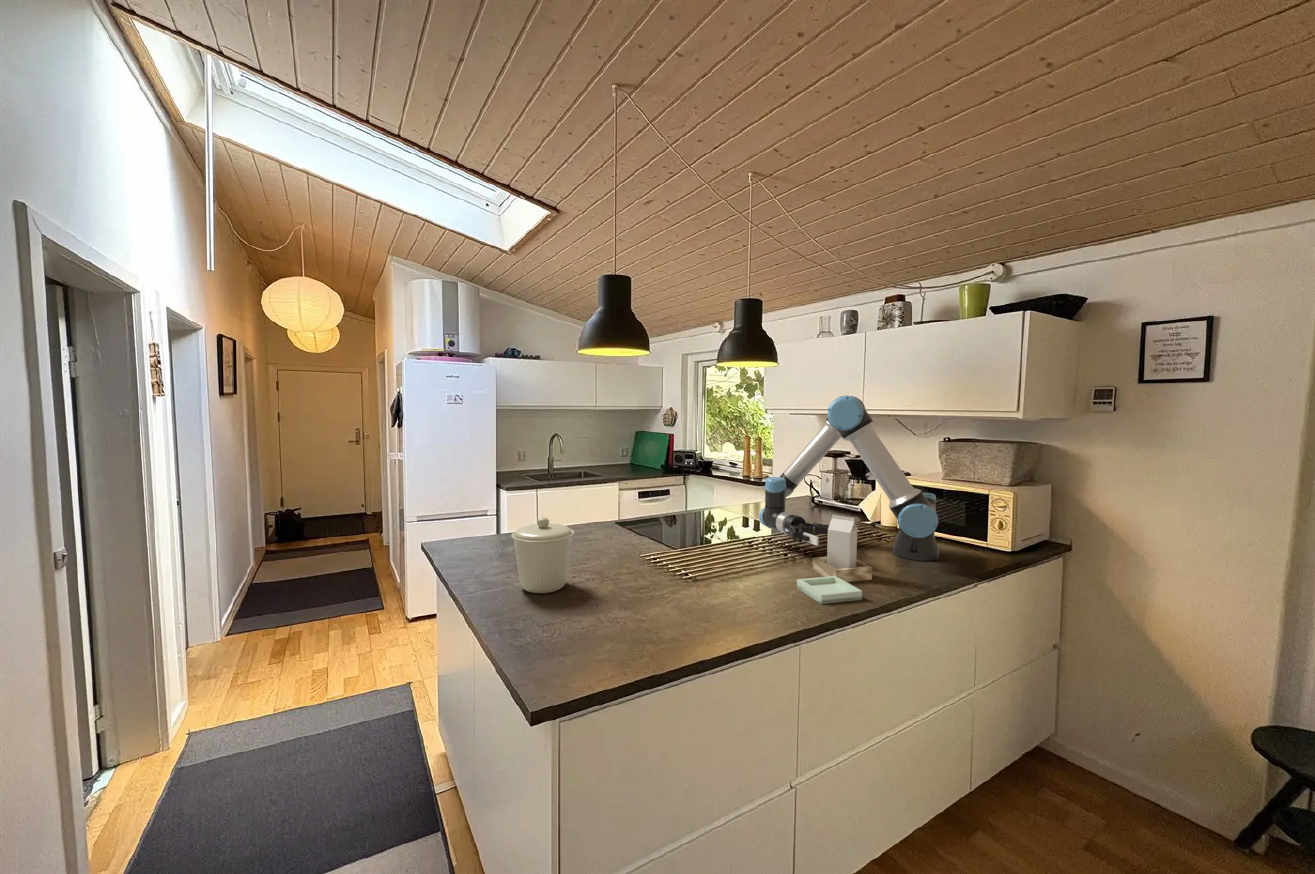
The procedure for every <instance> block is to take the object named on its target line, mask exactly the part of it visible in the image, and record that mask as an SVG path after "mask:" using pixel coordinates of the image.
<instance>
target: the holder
mask: <svg viewBox="0 0 1315 874" xmlns="http://www.w3.org/2000/svg"><path fill="white" fill-rule="evenodd" d="M811 565H812V568H811V570H812V571H813V572H815V573H817V574H819V575H821V577H829V576H836V577H838V578H840V579H842V580H844V581H845V582H847V583H851V582H861V581H862V582H863V581H870V580H872V579H873V566H871V565H869V564H867V563H865V562H862V561H861V560H859V559H856V567H855V568H844V569H836V568H834V567H832V566H830V565H828V564H827V556H822V557H821V556H820V557H819V556H817V557H812V564H811Z"/></svg>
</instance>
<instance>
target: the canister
mask: <svg viewBox="0 0 1315 874" xmlns="http://www.w3.org/2000/svg"><path fill="white" fill-rule="evenodd" d="M574 535H575V530H573V529H572V528H570V527H569V526H567V525H564V524H559V523H550V520H549V519H548V518H547V517H539V518H538V519H537V521H536V524H535V523H533V524H529V525H524V526H522V527H520V528H518V529H517V530H514V531H513V532H511V538H512V539H513V542H514V544H513V545H514V551H515V558H516V559H515V561H516V566H517V572H518V574H517V575H518V580H519V584H520V586H521V588H522V589H523V590H524V591H526V592H529V593H533V594H549V593H554V592H556V591H559V590H562V588H563V587H564V586H565V585H566V583H567V580H568V576H569V571H570V570H569V567H570V561H571V560H570V558H571V549H572V542H573V541H572V539H573V536H574Z"/></svg>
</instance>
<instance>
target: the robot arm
mask: <svg viewBox="0 0 1315 874" xmlns="http://www.w3.org/2000/svg"><path fill="white" fill-rule="evenodd" d="M824 422H825V424H824V425H823V426H822V427H821V429H820V430H819V431H818V432H817V433H816V435H814V436H813V438H812V439H811V440H809V442H808V443H807V445H806V446H804V448H803V450H802V451H801V452H800V453H799V454H798V455H797V456H796V458H795V459H794V460H793V461H792V462H791V463H790V465H788V467H787V468H786V469H785V470H784V471H783V472H782V473H781V474H780V476H771V477H770V476H769V477H767V478H766V479H765V485H764V490H765V491H764V507H763V508H761V509H760V511H759V514H758V519H759V523H760V524H762V526H765V527H766V528H768V529H771V530H774V531H778V532H780V533H783V534H784V535H785V536H787V535H788V536H789V537H790V539H791V540H792V541H797V542H798V543H800V544H801V543H803V542H806V543H808V544H811V545H814V546H819V542H820V541H819V536H816V535H817V534H819V535H827V536H828V528H829V525H830V524H824V523H818V522H813V523H810V522H806V520H805V519H804V518H803V517H802V516H799V515H796V514H793V513H790V512H787V511H786V498H787V497H789V496H791V495H792V494H793V492H794V490H796V488H797V487H798V486H799V485H800V484H801V482H803V480H804V479H805V478H806V477H807V475H809V473H811V472H812V470H813V469H814V468H815V467H816V466H817V464H819V462H820V461H821V460H822V459H823V458H824V457H825V456H826V455H827V454H828V453H829V452H830V450H831V449H833V447H834V446H835V445H836V444H837V443H838V441H839V440H840V439H841V438H842V440H844V441H848V442H850V443H851V444H852V446H853V448H854V449H855V451H856V452H857V453H858V455H859V456H860V458H861V460H862V462H863V463H864V464H865V466H866V467H867V469H868V470H869V471H870V473H871V474H872V476H873V477H874V479H875V480H876V482H877V483H878V485H879V486H880V488H881V490H882V491H883V492H884V494H885V495H886V497H887V498H888V500H889V504H888V507H889V509H890V511H891V512H892V514H893V515H894V517H895V518H896V519H897V521H898V522H897V523H898V533H897V535H896V538H895V541H894V544H893V545H892V554H894V555H895V556H897V557H900V558H902V559H908V560H913V561H920V562H921V561H922V562H923V561H924V562H930V561H931V562H932V561H936V560H938V559H940V550H939V547H938V543H937V540H936V537H935V532H936V529H937V527H938V525H939V517H938V516H939V515H938V513H937V511H936V505H937V497H936V494H934V493H932V492H923V491H922V490H921V489H918V488H915V487H913V485H912V483H911V482H910V481H909V479H908V478H907V476H906V475H905V473H904V472H903V470H902V469H901V467H900V466H899V465H898V463H897V461H895V459H894V458H893V456H892V454H891V453H890V452H889V450H888V448H887V447H886V445H884V443H883V441H882V440H881V439H880V437H879V435H878V434H877V433H876V431H875V429H874V423H875V421H874V420H873V418H872V417H871V416H870V414H869V412H868V411H867V409H866V407H865V403H864V402H863V401H862V400H861V399H860V398H859V397H856V396H853V395H847V394H846V395H840V396H838V397H836V398H835V399H834V400H832V402H831V403H830V404H829V405H828V408H827V417H826V418H825V421H824Z"/></svg>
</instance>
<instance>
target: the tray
mask: <svg viewBox="0 0 1315 874" xmlns="http://www.w3.org/2000/svg"><path fill="white" fill-rule="evenodd" d="M796 588H797V589H798V590H799V591H801V592H803V593H804V594H806V595H807V596H808V597H810V598H812V599H813V600H815V601H816V602H817V603H819V604H821V605H825V604H834V603H842V602H843V603H845V602H851V601H852V602H853V601H854V602H855V601H861V600H863V590H861V589H860V588H858V587H856V586H855V585H852V583H850V582H845V581H844V580H842V579H840V578H838V577H836V576H829V577H824V576H819V577H809V578H808V577H807V578H799V579H798V578H797V579H796Z"/></svg>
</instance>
